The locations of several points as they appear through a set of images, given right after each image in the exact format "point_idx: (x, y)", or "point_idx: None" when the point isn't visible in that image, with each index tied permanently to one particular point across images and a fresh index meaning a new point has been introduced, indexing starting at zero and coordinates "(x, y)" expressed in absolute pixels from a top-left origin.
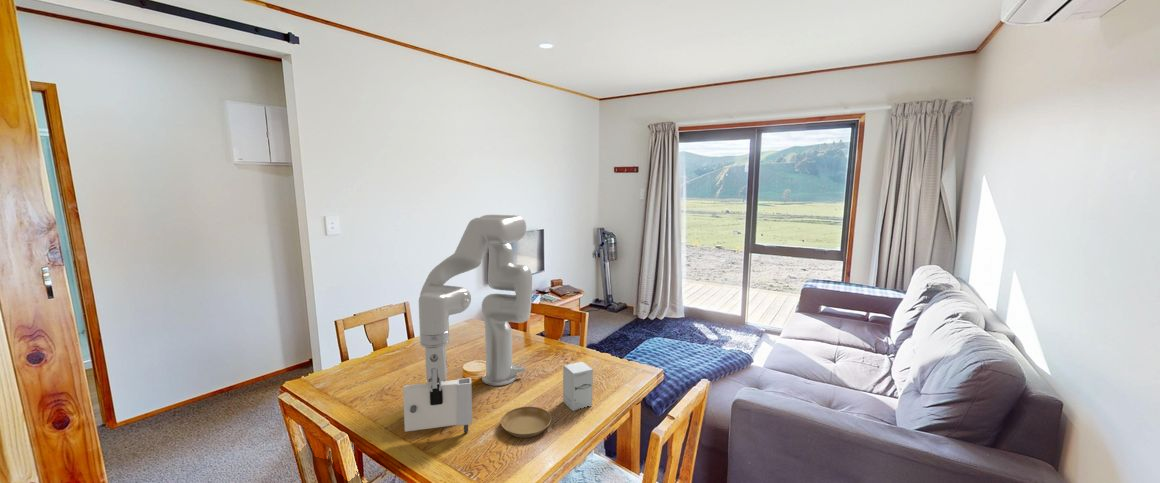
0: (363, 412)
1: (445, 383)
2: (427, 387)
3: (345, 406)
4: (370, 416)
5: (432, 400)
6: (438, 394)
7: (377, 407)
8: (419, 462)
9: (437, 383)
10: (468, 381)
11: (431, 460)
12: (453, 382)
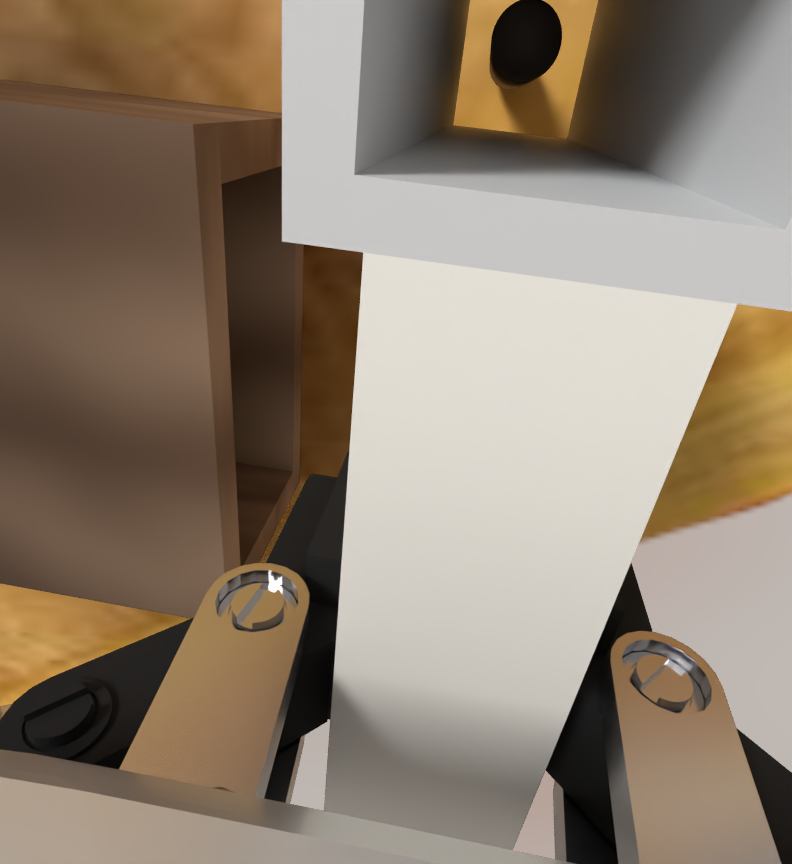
0: (67, 650)
1: (493, 601)
2: (505, 846)
3: (7, 700)
4: (111, 629)
5: None
6: (648, 628)
7: (18, 599)
8: (723, 458)
9: (417, 726)
10: None
11: (753, 390)
12: (538, 409)
